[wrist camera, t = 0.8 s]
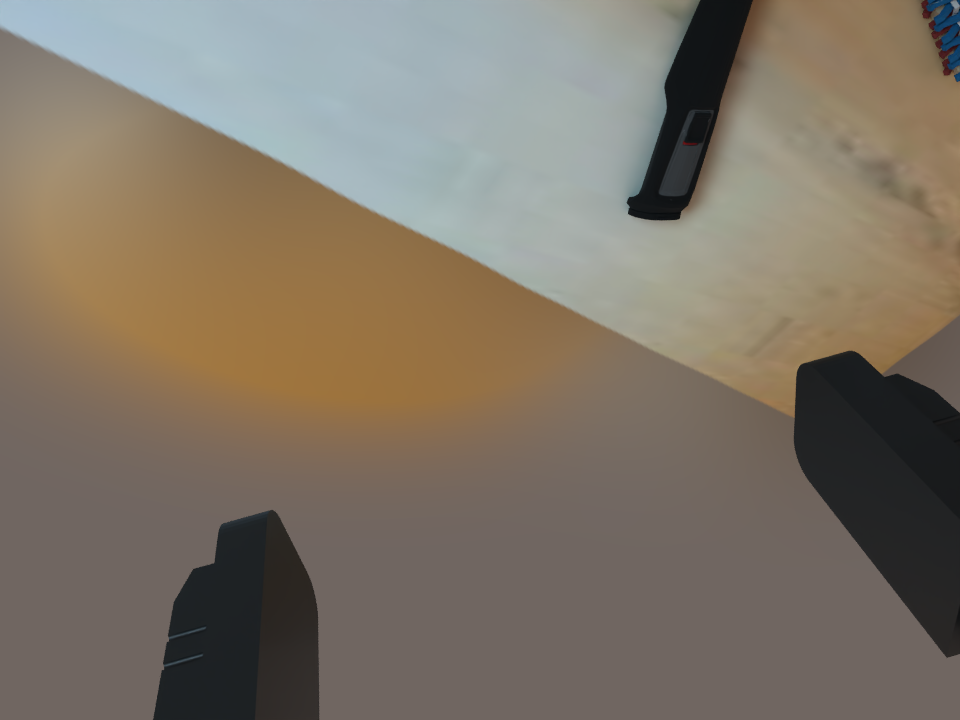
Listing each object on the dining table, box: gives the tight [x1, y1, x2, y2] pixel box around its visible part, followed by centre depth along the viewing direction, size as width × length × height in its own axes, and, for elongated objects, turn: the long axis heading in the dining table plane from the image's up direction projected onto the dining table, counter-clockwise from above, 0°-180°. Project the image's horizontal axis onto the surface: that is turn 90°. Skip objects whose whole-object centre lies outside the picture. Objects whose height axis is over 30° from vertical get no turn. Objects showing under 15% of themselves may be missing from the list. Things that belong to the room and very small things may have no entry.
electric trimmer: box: [627, 0, 753, 220], centre depth 44 cm, size 4×15×3 cm, turn 172°
